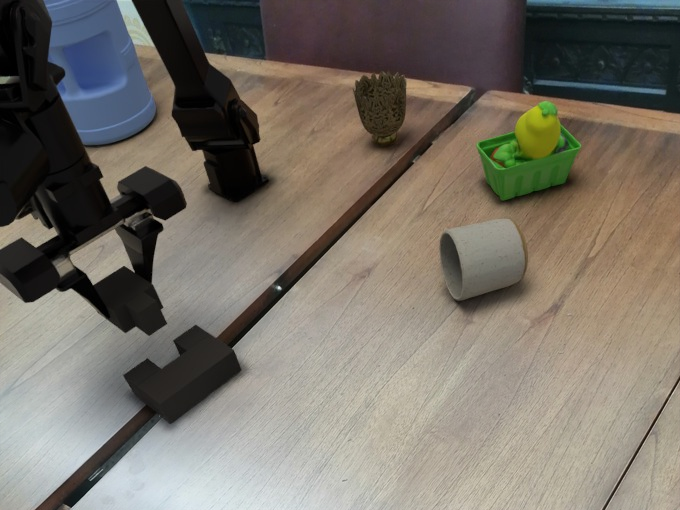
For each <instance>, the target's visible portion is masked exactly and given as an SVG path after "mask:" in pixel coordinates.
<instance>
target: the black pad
mask: <svg viewBox="0 0 680 510" xmlns="http://www.w3.org/2000/svg"><path fill="white" fill-rule="evenodd" d="M93 286H94V287H95V289H96V291H97V292H98V294H99V296H100V297H101V299H102V301H103V302H104V304H105V306H106V307H107V310H108V313H109V315H110V318H109V319H106V318H105V317H104V316H102V315H101V314H100V313H99V312H98V311H97V310H96V309H95V311H96V313H97V314H99V316H101V317H103V318H104V319H106V320H107V321H108V322H109V323H110V324H112V325H114V326H115V327H116V328H117V329H119V330H120V331H122V332H123V333H124V334H127V333H129V332H130V331H132V330H133V329H135V328H137V330H140V331H141V332H142V333H144V334H145V335H146V336H147V337H151V336H152V335H153V334H155V333H156V332H158V331H159V330H161V329H162V328H164V327H165V326H166V325H168V322H167V319H166V317H165V315H164V313H163V309H164V305H163V302H162V301H161V299H160V296H159V294H158V292H157V290H156V288H155V286H154V284H153V283H152V284H151V283H150V282H148V281H147V280H145V279H144V278H142V277H141V276H139V275H138V274H136V273H135V272H134V270H132V269H130V268H129V267H127V266H126V265H122V266H121V267H120V268H118V269H116V270H115V271H113V272H111V273H110V274H108V275H106V276H105V277H104V278H102V279H100V280H99V281H97V282H96V283H94V284H93Z"/></svg>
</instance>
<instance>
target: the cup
mask: <svg viewBox="0 0 680 510" xmlns="http://www.w3.org/2000/svg"><path fill="white" fill-rule="evenodd" d="M354 86H355V88H352V92H353V96H354V100H355V105H356V108H357V113H358V116H359V119H360V122H361V125H362V127H363V128H364V129H365V131H366V132H367V133H369V134H370V135H372V141H373V142H374V144H375V145H377V146H380V147H388V146H392V145H394V144H395V143H396V142H397V140H398V136H399V133H398V131H399V130H401V128H402V126H403V125H404V122H405V120H406V112H407V86H408V85H407V79H406V77H405V74H402V75H400V74H399V72H398V71H397V72H396V73H395V74H392V72H391V71H389V70H388V71H387V72H384V71H383V70H381V71H380V73H379V75H378V77H377V74H376V72H372V74H371V76H370V77H369V76H367V75H365V74H362V75H361V77H360V78H359V80H357V79H355V81H354Z"/></svg>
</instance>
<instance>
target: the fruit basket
mask: <svg viewBox="0 0 680 510" xmlns="http://www.w3.org/2000/svg"><path fill="white" fill-rule="evenodd" d="M558 114H559V113H558V108H557V106H556V104H555V103H553V102H551V101H548V100H542V101H540V102H539V103H537V105H535V106H534V107H532V108H530V109H529V110H527V111H526V112H524V113H523V114H522V115H521V116H520V117H519V118H518V120H517V121H516V123H515V127H514V131H511V132H508V133H505V134H501V135H498V136H494V137H491V138H486V139H484V140H479V141H478V142H477V143H476V149H477V153H478V154H479V157H480V160H481V164H482V168H483V173H484V176H485V177H484V178H485V181H486V184H487V185H489V186H490V188H491V189H492V190H493V192H494V193H495V194H496V195H497V196H499V199H500V201H507V200H510V199H513V198H515V197H521V196H525V195H528V194H531V193H533V192H538V191H539V192H540V191H542V190H545V189H546V190H547V189H549V188H550V187H555V186H559V185H564V184H565V183H566V181H567V178H568V176H569V174H570V172H571V169H572V167H573V164H574V162H575V159H576V157H577V155H578V154H579V152H580V150H581V148H582V144H581V143H580V142H579V141H578V140H577V139H576V138H575V137H574V136H573V135H572V134H571V133H570V132H569V130H567V129H566V128H565V127H564V126H563V124H561V121H560V119H559V117H558Z"/></svg>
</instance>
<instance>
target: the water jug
mask: <svg viewBox="0 0 680 510" xmlns="http://www.w3.org/2000/svg"><path fill="white" fill-rule="evenodd" d="M43 1H44V3H45V6H46V8H47V10H48V13H49V15H50V17H51V19H52V29H51V37H50V45H49V54H48V61H49V62H51V63H54V64H56V65H58V66H61V67H62V68H63V69H64V70H65V77H64V78H63V79H62V80H61V81H60V83H59V84H58V85H57V86H56V87H57V89H58V91H59V93H60V95H61V97H62V100H63V102H64V104H65V106H66V108H67V110H68V112H69V115H70V117H71V119H72V121H73V123H74V125H75V127H76V130H77V132H78V134H79V136H80V138H81V140H82V142H83V145H84V146H100V145H101V146H103V145H107V144H112V143H117V142H119V141H123V140H126V139H127V138H130V137H132V136H134V135H136V134H138V133H139V132H141V131H143V130H144V129H145V128H146V127H147V126H148V125H150V124H151V122H152V121H153V120H154V118H155V115H156V111H157V105H156V101H155V100H154V96H153V94H152V92H151V91H150V88H149V85H148V82H147V79H146V77H145V74H144V72H143V69H142V66H141V63H140V61H139V58H138V54H137V50H136V49H137V48H136V47H135V44H134V41H133V39H132V36H131V35H130V33H129V30H128V27H127V25H126V22H125V20H124V17H123V14H122V11H121V8H120V6H119V4H118V1H117V0H43Z"/></svg>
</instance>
